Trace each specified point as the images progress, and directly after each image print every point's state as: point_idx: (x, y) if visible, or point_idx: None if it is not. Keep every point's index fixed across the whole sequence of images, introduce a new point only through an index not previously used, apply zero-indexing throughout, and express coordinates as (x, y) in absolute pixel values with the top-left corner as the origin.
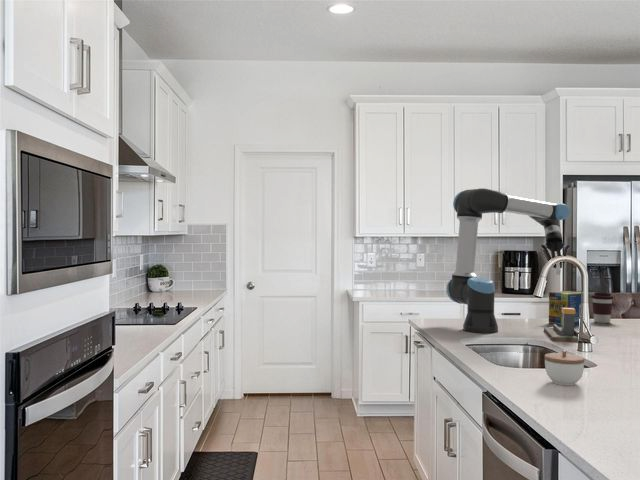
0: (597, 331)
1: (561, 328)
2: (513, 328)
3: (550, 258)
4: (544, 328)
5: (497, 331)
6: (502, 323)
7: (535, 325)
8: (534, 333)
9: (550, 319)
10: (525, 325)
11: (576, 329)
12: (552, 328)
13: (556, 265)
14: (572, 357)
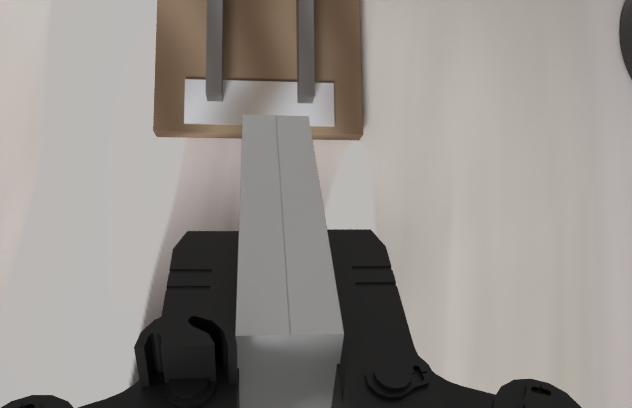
0: (8, 212)
1: (262, 89)
2: (536, 182)
3: (527, 403)
4: (361, 119)
5: (622, 15)
6: (606, 389)
7: None
8: (423, 25)
9: None
10: (459, 343)
11: (165, 102)
12: (318, 83)
13: (321, 197)
14: None
